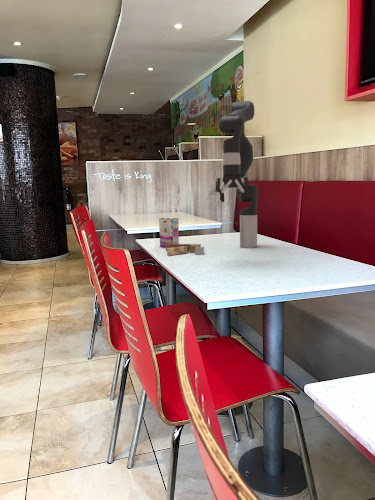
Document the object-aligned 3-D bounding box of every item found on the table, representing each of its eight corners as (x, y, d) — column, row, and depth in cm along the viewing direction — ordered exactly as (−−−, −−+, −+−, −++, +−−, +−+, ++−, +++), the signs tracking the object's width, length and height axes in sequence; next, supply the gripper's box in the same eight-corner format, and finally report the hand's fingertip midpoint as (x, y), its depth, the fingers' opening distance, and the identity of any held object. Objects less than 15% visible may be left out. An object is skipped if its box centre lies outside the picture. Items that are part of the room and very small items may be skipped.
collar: (196, 253, 213) (196, 246, 213) (204, 253, 213) (204, 246, 212) (195, 255, 209) (195, 248, 209) (203, 255, 209) (203, 247, 208)
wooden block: (166, 250, 224) (166, 242, 223) (200, 250, 221) (200, 242, 220) (163, 253, 216) (163, 244, 216) (199, 253, 214) (199, 244, 213)
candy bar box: (179, 247, 233) (178, 217, 230) (172, 249, 229) (171, 218, 227) (166, 246, 241) (165, 216, 238) (159, 247, 238) (158, 217, 235)
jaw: (184, 252, 216) (184, 246, 215) (187, 252, 214) (187, 246, 213) (166, 254, 209) (166, 248, 209) (169, 255, 207) (169, 248, 207)
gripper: (243, 164, 190) (243, 200, 193) (213, 164, 186) (213, 201, 189) (250, 163, 183) (250, 201, 185) (218, 163, 179) (219, 202, 182)
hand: (231, 201), depth 187 cm, fingers open, 8 cm apart
